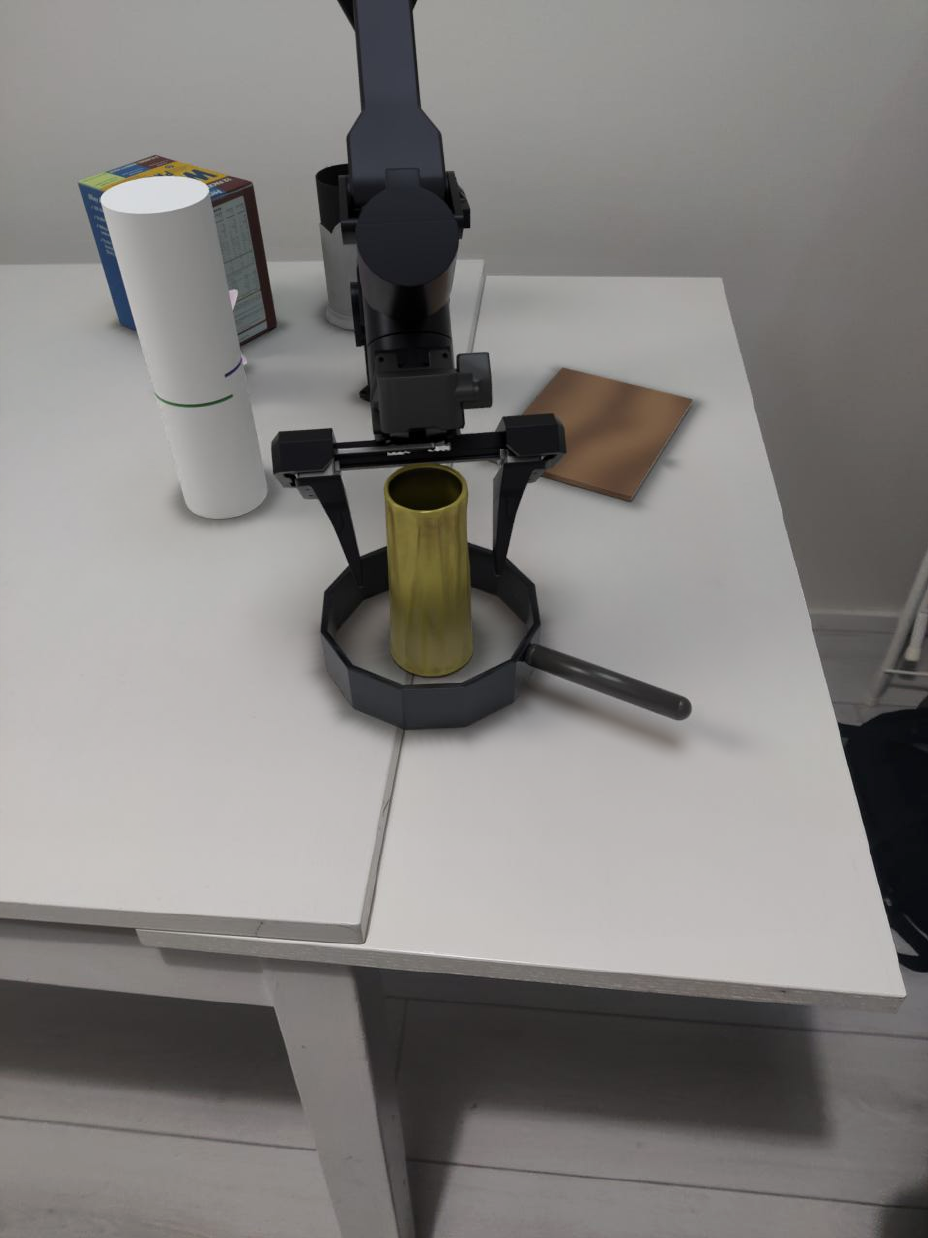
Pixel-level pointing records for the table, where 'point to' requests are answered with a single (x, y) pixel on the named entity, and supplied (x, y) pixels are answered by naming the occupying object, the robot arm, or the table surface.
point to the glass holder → (335, 248)
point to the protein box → (233, 228)
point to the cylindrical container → (188, 339)
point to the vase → (428, 569)
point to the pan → (484, 690)
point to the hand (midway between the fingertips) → (430, 581)
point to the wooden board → (608, 430)
